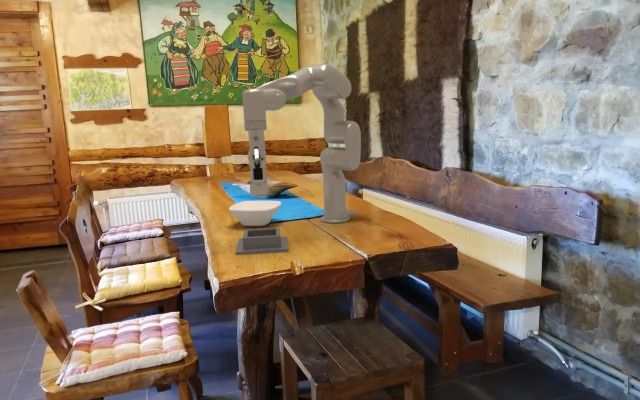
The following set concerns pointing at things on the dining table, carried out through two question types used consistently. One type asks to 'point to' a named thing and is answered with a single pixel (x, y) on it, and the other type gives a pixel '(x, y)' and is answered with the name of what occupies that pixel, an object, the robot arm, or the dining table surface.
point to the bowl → (255, 212)
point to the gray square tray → (262, 241)
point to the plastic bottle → (258, 186)
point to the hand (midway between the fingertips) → (258, 178)
